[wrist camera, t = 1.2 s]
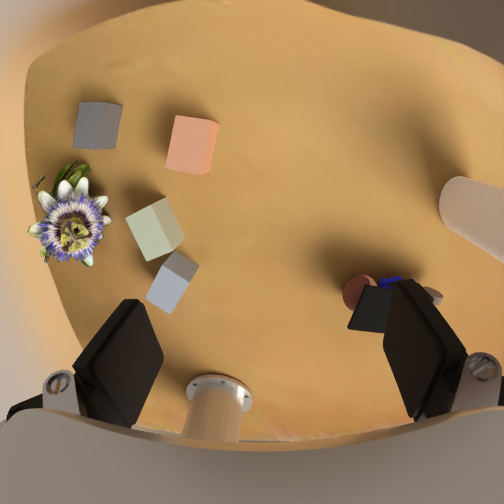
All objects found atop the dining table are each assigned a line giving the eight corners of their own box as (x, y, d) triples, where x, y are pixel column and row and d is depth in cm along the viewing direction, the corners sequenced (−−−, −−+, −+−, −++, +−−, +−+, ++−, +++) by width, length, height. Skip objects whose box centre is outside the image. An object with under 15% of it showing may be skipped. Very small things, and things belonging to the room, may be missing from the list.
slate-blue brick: (181, 295, 39) (170, 314, 35) (158, 281, 39) (145, 298, 34) (199, 265, 37) (189, 282, 33) (174, 250, 37) (162, 265, 32)
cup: (441, 236, 33) (509, 286, 18) (435, 181, 30) (515, 209, 15) (478, 223, 31) (545, 263, 17) (474, 171, 29) (550, 195, 14)
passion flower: (126, 208, 41) (106, 281, 34) (66, 207, 40) (40, 274, 32) (110, 146, 31) (73, 225, 24) (42, 152, 29) (0, 224, 22)
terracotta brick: (209, 171, 33) (199, 175, 28) (179, 165, 33) (165, 168, 28) (220, 124, 30) (211, 120, 26) (189, 119, 30) (175, 115, 26)
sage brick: (185, 237, 36) (172, 251, 31) (161, 247, 37) (146, 261, 32) (166, 196, 34) (150, 204, 29) (142, 208, 35) (125, 218, 30)
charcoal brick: (115, 148, 32) (94, 149, 27) (93, 145, 32) (72, 147, 27) (123, 105, 30) (103, 101, 25) (100, 105, 30) (80, 102, 25)
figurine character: (426, 274, 37) (346, 260, 35) (453, 298, 30) (369, 288, 28) (409, 310, 39) (331, 303, 38) (432, 337, 32) (348, 336, 31)
